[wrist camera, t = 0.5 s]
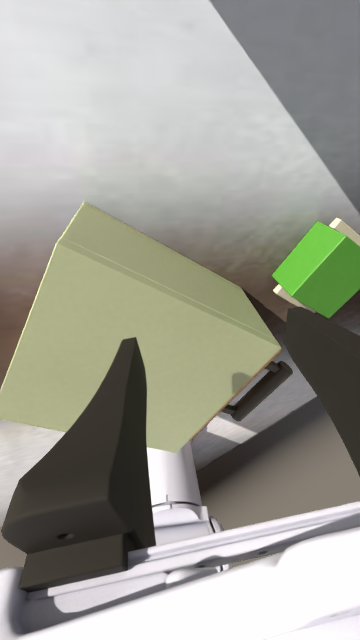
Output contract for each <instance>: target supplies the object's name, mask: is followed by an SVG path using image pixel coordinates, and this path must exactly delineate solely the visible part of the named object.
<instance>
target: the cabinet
mask: <svg viewBox="0 0 360 640" xmlns="http://www.w3.org/2000/svg"><path fill="white" fill-rule="evenodd" d="M133 337H136V338H137V342H138V345H139V349H140V352H141V356H142V359H143V363H144V366H145V372H146V382H147V416H146V443H147V447H148V448H153V449H158V450H163V451H169V452H174V453H177V452H178V451H179V450H180V449H181V448H182V447H183V446H184V445H185V444H186V443H187V442H188V441H189V440H190V439H191V438H192V437H193V436H194V435H195V434H196V433H197V432H198V431H199V430H200V429H201V428H202V427H203V426H204V425H205V424H206V423H207V422H208V421H209V420H210V419H211V418H212V417H213V416H214V415H215V414H216V413H217V412H218V411H219V410H220V409H221V408H222V407H223V406H224V405H225V404H226V403H227V402H228V401H229V400H230V399H231V398H232V397H233V396H234V395H235V394H236V393H237V392H238V391H239V390H240V389H241V388H242V387H243V386H244V385H245V384H246V383H247V382H248V381H249V380H250V379H251V378H252V377H253V376H254V375H255V374H256V373H257V372H258V371H259V370H260V369H261V368H262V367H263V366H264V365H265V364H266V363H267V362H268V361H269V360H270V359H271V358H272V357H273V356H274V355H275V354H276V353H277V352H278V351H279V350H280V349H281V346H280V345H279V343H278V342H277V340H275V338H274V336H273V335H272V333H271V332H270V330H269V329H268V327H267V326H266V324H265V323H264V321H263V320H262V318H261V317H260V315H259V314H258V312H257V311H256V310H255V308H254V307H253V305H252V304H251V302H250V301H249V299H248V298H247V296H246V295H245V293H244V291H243V290H242V288H241V287H239V286H237V285H236V284H234V283H232V282H230V281H228V280H226V279H225V278H223V277H221V276H219V275H217V274H215V273H214V272H212V271H210V270H208V269H206V268H205V267H203V266H201V265H199V264H197V263H195V262H194V261H192V260H190V259H188V258H186V257H184V256H183V255H181V254H179V253H177V252H175V251H174V250H172V249H170V248H168V247H166V246H164V245H163V244H161V243H159V242H157V241H155V240H154V239H152V238H150V237H148V236H146V235H144V234H143V233H141V232H139V231H137V230H135V229H133V228H132V227H130V226H128V225H126V224H124V223H123V222H121V221H119V220H117V219H115V218H113V217H112V216H110V215H108V214H106V213H104V212H102V211H101V210H99V209H97V208H95V207H93V206H92V205H90V204H88V203H86V202H83V204H82V205H81V207H80V208H79V210H78V211H77V213H76V214H75V216H74V217H73V219H72V220H71V222H70V223H69V225H68V227H67V228H66V230H65V231H64V233H63V234H62V236H61V237H60V238H59V240H58V241H57V243H56V245H55V248H54V250H53V253H52V256H51V258H50V261H49V263H48V266H47V269H46V271H45V274H44V277H43V279H42V282H41V285H40V287H39V290H38V292H37V295H36V298H35V300H34V303H33V306H32V308H31V311H30V314H29V316H28V319H27V321H26V324H25V327H24V329H23V332H22V335H21V337H20V340H19V343H18V345H17V348H16V350H15V353H14V356H13V358H12V361H11V364H10V366H9V369H8V372H7V374H6V377H5V379H4V382H3V385H2V387H1V390H0V420H5V421H10V422H16V423H21V424H26V425H32V426H37V427H42V428H47V429H53V430H58V431H63V432H67V431H68V430H69V429H70V428H71V426H72V425H73V424H74V423H75V421H76V420H77V419H78V417H79V416H80V415H81V414H82V412H83V411H84V409H85V408H86V407H87V405H88V404H89V402H90V401H91V399H92V398H93V396H94V395H95V393H96V392H97V390H98V388H99V386H100V385H101V383H102V381H103V380H104V378H105V376H106V374H107V372H108V370H109V368H110V366H111V364H112V362H113V360H114V358H115V356H116V353H117V351H118V349H119V346H120V343H121V341H122V340H123V339H128V338H133Z"/></svg>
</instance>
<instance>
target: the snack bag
mask: <svg viewBox="0 0 360 640" xmlns="http://www.w3.org/2000/svg"><path fill="white" fill-rule="evenodd" d="M272 277H273V278H274V279H275V280H276V281H277V282H278V283H279V284H278V285H277V287H276V288H275V289H274V290H273V291H274V292H275V293H276V294H277V295H279V296H280V297H282V298H284V299H285V300H287V301H289V302H291V303H292V304H294V305H296V306H298V307H300V306H301V307H303V308H305V309H307V310H310V311H312V312H313V313H315V312H318V313H320V314H321V315H323V316H325V317H326V318H330V317H331V316H332V315H333V314H334V313H335V312H336V311H337V310H338V309H340V308H341V307H342V306H343V305H344V304H345V303H346V302H347V301H348V300H349V299H350V298H351V297H352V296H353V295H354V294H355V293H356V292H357V291H358V290H359V289H360V236H359V235H358V234H357V233H356V232H355V231H354V230H352V229H351V228H350V227H349V226H348V225H347V224H345V223H344V222H343V221H342V220H340V219H338V218H335V220H334V221H333V222H332V223H331V224H330V225H329V226H327V225H325V224H323V223H321V222H319V221H317V222H316V223H315V224H314V226H313V227H312V228H311V229H310V230H309V232H308V233H307V234H306V235H305V236H304V237H303V239H302V240H301V241H300V242H299V243H298V245H297V246H296V247H295V248H294V249H293V251H292V252H291V253H290V254H289V255H288V257H287V258H286V259H285V260H284V261H283V263H282V264H281V265H280V266H279V267H278V269H277V270H276V271H275V272H274V273H273V274H272Z"/></svg>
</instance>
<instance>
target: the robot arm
mask: <svg viewBox="0 0 360 640" xmlns="http://www.w3.org/2000/svg"><path fill="white" fill-rule="evenodd" d="M284 344H285V346H286V348H287V350H288V352H289V354H290V356H291V358H292V360H293V361H294V363H295V364H296V366H297V367H298V368H299V370H300V371H301V373H302V374H303V376H304V377H305V379H306V380H307V381H308V383H309V384H310V386H311V387H312V389H313V390H314V391H315V393H316V394H317V396H318V397H319V399H320V400H321V402H322V403H323V405H324V406H325V408H326V410H327V412H328V414H329V416H330V417H331V419H332V421H333V423H334V425H335V426H336V429H337V430H338V432H339V434H340V436H341V438H342V440H343V442H344V444H345V446H346V448H347V450H348V452H349V454H350V457H351V459H352V461H353V463H354V465H355V467H356V469H357V471H358V474H359V476H360V335H357V334H355V333H353V332H351V331H349V330H347V329H345V328H343V327H341V326H339V325H337V324H335V323H333V322H331V321H329V320H327V319H325V318H323V317H321V316H319V315H317V314H315V313H313V312H312V311H310V310H307V309H305V308H303V307H301V306H300V307H295V308H290V309H288V314H287V321H286V328H285V335H284ZM146 416H147V382H146V372H145V366H144V363H143V359H142V356H141V352H140V349H139V345H138V342H137V338H136V337H133V338H128V339H123V340H122V341H121V343H120V346H119V349H118V351H117V353H116V356H115V358H114V360H113V362H112V364H111V366H110V368H109V370H108V372H107V374H106V376H105V378H104V380H103V381H102V383H101V385H100V386H99V388H98V390H97V392H96V393H95V395H94V396H93V398H92V399H91V401H90V402H89V404H88V405H87V407H86V408H85V409H84V411H83V412H82V414H81V415H80V416H79V417H78V419H77V420H76V421H75V423H74V424H73V425H72V426H71V428H70V429H69V430H68V431H67V432H66V433H65V435H64V436H63V437H62V438H61V439H60V440H59V441H58V442H57V443H56V445H55V446H54V447H53V448H52V449H51V450H50V451H49V452H48V453H47V454H46V455H45V456H44V457H43V458H42V459H41V460H40V461H39V462H38V463H37V464H36V465H35V466H34V467H33V468H31V469H30V470H29V471H28V472H27V473H26V474H25V475H24V476H23V477H22V478H21V479H20V480H19V482H18V485H17V487H16V489H15V491H14V494H13V497H12V499H11V502H10V505H9V508H8V511H7V515H6V518H5V521H4V524H3V527H2V530H1V532H2V536H3V537H4V539H6V540H7V541H8V542H9V543H11V544H12V545H14V546H15V547H17V548H19V549H20V550H22V551H23V552H25V553H27V557H26V562H25V565H24V567H9V568H4V569H0V640H360V501H358V502H353V503H349V504H344V505H340V506H336V507H331V508H326V509H322V510H317V511H312V512H308V513H303V514H299V515H294V516H290V517H286V518H281V519H276V520H271V521H267V522H263V523H258V524H253V525H249V526H244V527H240V528H235V529H230V530H226V531H224V529H223V527H222V525H221V524H220V523H219V522H218V521H217V519H216V518H214V517H213V516H209V515H208V511H207V506H202V504H201V498H200V493H199V487H198V482H197V476H196V471H195V465H194V460H193V454H192V449H191V442H192V440H191V441H188V442H187V443H186V444H185V445H184V446H183V447H182V448H181V449H180V450H179V451H178V452H177V453H174V452H169V451H163V450H158V449H153V448H148V447H147V443H146ZM280 552H281V553H280ZM275 553H278V554H275ZM271 554H275V555H271ZM267 555H271V556H268V557H265V558H262V559H259V560H256V561H253V562H249V563H246V564H243V565H240V566H237V567H234V568H233V566H232V563H235V562H239V561H244V560H248V559H253V558H258V557H262V556H267Z"/></svg>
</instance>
